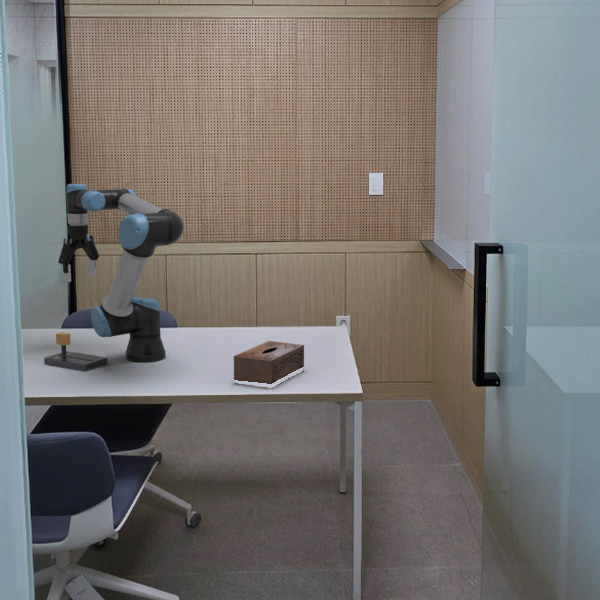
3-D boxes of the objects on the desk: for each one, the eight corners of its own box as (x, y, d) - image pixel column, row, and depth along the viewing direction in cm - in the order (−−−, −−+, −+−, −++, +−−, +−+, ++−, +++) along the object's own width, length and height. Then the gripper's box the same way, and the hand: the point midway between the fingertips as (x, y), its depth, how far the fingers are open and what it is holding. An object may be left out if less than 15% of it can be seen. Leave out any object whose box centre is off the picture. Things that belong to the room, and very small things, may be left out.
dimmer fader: (70, 354, 337) (70, 333, 336) (64, 356, 334) (64, 335, 333) (62, 353, 339) (62, 332, 337) (56, 355, 336) (55, 333, 335)
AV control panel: (107, 364, 335) (107, 357, 334) (85, 371, 324) (85, 364, 324) (67, 357, 344) (66, 350, 344) (44, 364, 334) (44, 357, 333)
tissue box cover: (270, 389, 304) (270, 360, 303) (233, 384, 311) (233, 356, 309) (303, 371, 327) (304, 345, 325) (268, 367, 333) (268, 340, 332)
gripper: (92, 221, 358) (94, 273, 362) (47, 226, 336) (49, 282, 340) (107, 222, 354) (108, 275, 358) (62, 227, 333) (64, 284, 337)
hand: (80, 279), depth 349 cm, fingers open, 13 cm apart
